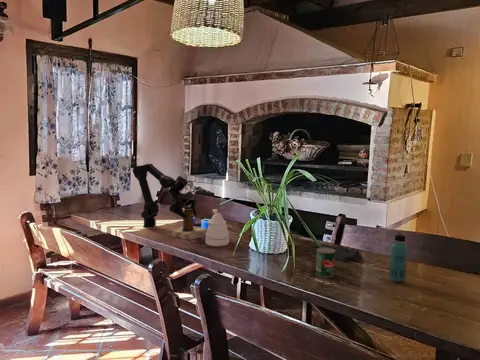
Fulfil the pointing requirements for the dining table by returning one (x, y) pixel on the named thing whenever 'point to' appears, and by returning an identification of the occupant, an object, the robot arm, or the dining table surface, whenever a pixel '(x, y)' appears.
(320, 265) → the canned tomato
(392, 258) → the beverage bottle
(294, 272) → the dining table surface
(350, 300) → the dining table surface
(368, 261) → the dining table surface
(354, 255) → the dark slate chunk
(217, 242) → the honey pot
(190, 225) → the condiment
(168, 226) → the dining table surface
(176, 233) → the base board
